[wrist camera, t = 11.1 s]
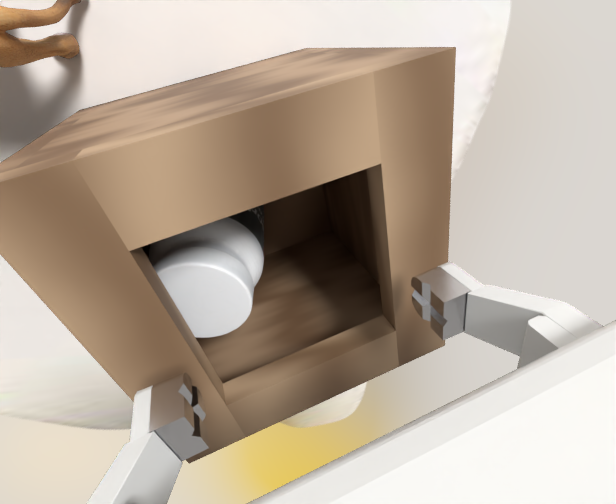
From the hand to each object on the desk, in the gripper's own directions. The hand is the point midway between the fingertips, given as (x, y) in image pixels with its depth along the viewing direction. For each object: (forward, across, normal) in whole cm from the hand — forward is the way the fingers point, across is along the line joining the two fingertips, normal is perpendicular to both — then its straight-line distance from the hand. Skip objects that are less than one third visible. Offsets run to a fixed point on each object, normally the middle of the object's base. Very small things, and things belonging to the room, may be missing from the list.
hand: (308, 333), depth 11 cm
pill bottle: (+14, +1, 0) cm, 14 cm away
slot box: (+16, 0, 0) cm, 16 cm away
